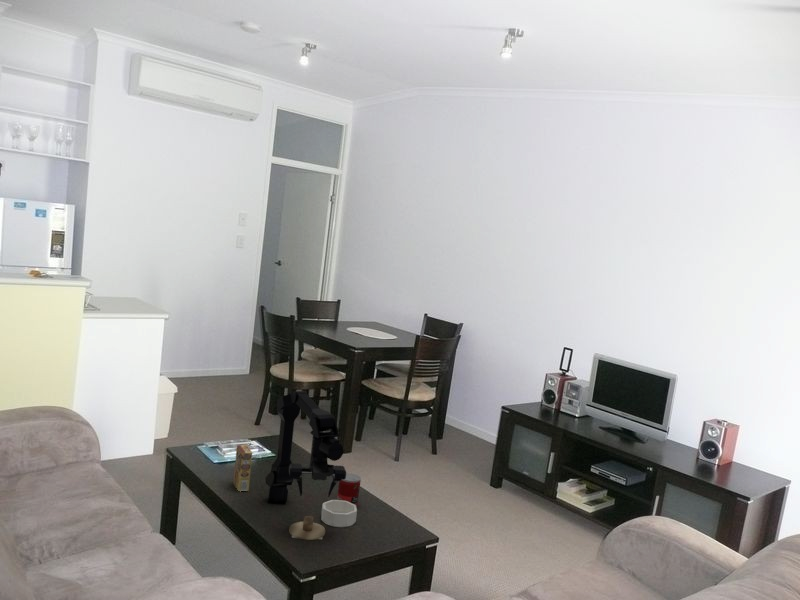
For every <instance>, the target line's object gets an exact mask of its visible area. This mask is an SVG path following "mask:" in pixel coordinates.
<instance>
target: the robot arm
mask: <svg viewBox="0 0 800 600" xmlns="http://www.w3.org/2000/svg"><path fill="white" fill-rule="evenodd" d="M308 394H309V393H308V392H307V391H305V390H297V391H293V392H291V393H289V394H286V395H282V396H281V395H280V397H279V398H278V399H277V401H276V413H277V414H278V417H279V418H280V423H279V424H280V425H279V434H278V435H279V436H278V446H277V455H276V459H275V460H274V462H273V463H272V465H271V468H270V471H269V473H268V474H267V475H266V476H265V484H266V485H267V486H268V487H269V489H268V497H267V504H276V505H280V504H281V505H286V504H287V502H288V497H289V496H288V494H289V487H288V486H292V484H293V483H294V480H296V483H297V486H298V490H299V491H298V492H299V496H303V476H302V474H307V475H308V474H309V475H310V474H311V479H312V480H313V481H326V480H328V479H327V478H328V477H330V479H329V484H328V488H327V489H328V490H327V497H328V498H330V496H331V494H332V492H333V490H334V488H335V486H336V484H337V483H339V481H341V480H342V479H346V473H347V470H346V468H345V466H344V465H334V464H329V463H328V459H329V460H330V461H332V462H336V461H338V460H340V459H341V458H342V457H343V454H344V452H345V450H344V447H343V445H342V444H341V443H340V439H339V438H338V437H339V428H338V425H337V421H336V418H335V416H334V415H333V414H332V413H331V412H329V411H328V410H324V409H322V408H320V406H319V405H317V404H316V402H315V401H314V400H313V399H312V398H311V397H310V396H309V395H308ZM301 411H302V412H303V413H304V414H305V415H306V417H307V418H308V419H309V426H310V427H311V431H310V434H311V435H312V439H311V440H312V441H311V450H310V457H309V458H310V459H309V467H303V465H302V463H294V462H292V459H291V457H292V451H293V450H292V447H293V439H294V427H295V420H297V418H298V417H299V416H300V414H301Z"/></svg>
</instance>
